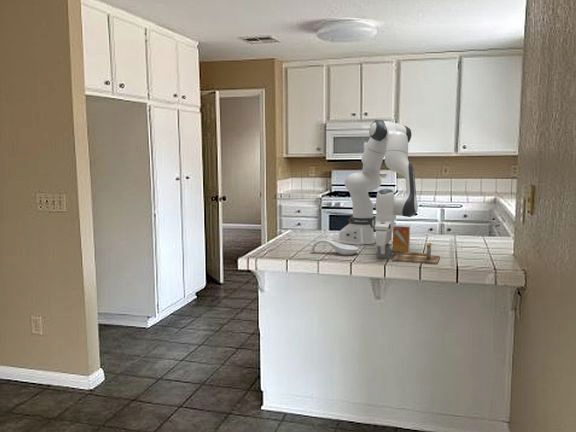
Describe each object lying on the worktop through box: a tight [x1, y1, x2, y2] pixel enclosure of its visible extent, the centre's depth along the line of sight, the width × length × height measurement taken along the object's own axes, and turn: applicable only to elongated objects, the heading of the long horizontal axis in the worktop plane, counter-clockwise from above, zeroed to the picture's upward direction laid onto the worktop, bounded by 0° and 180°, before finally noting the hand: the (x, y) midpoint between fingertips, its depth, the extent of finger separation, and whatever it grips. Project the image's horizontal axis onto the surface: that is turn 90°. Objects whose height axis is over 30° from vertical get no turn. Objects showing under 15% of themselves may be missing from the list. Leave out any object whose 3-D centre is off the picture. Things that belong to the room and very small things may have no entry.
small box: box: [392, 224, 411, 253], centre depth 264 cm, size 8×6×13 cm
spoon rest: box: [310, 238, 360, 256], centre depth 258 cm, size 24×12×7 cm, turn 79°
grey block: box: [376, 243, 393, 260], centre depth 248 cm, size 6×5×6 cm
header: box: [391, 242, 441, 265], centre depth 243 cm, size 20×15×8 cm
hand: (384, 252), depth 249 cm, fingers closed on grey block, 5 cm apart
